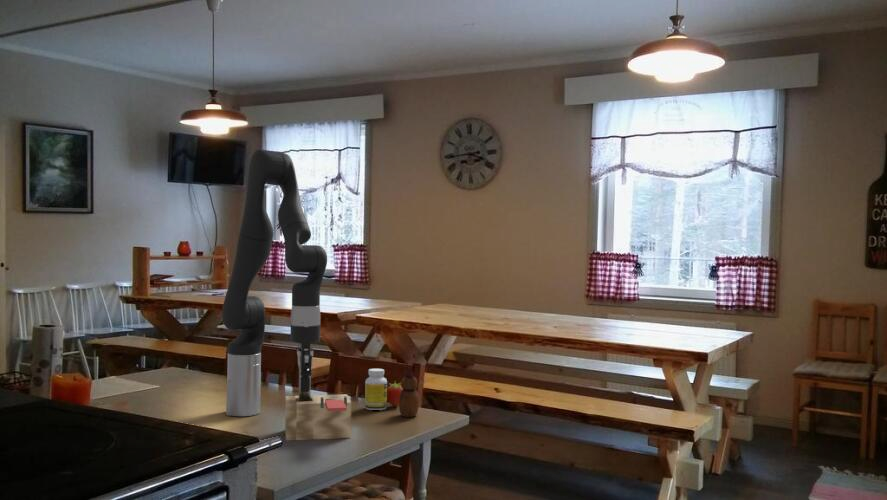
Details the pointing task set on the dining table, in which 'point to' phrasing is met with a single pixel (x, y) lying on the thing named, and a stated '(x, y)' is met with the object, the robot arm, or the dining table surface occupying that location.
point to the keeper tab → (335, 405)
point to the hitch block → (316, 418)
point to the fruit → (394, 394)
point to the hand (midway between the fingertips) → (304, 389)
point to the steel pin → (304, 395)
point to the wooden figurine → (408, 395)
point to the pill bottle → (376, 390)
